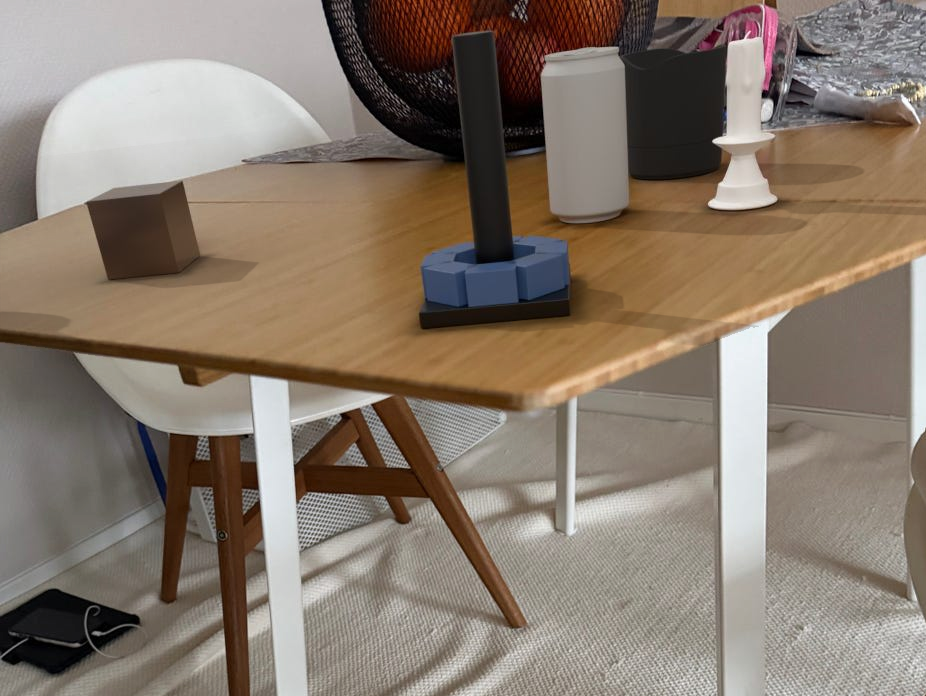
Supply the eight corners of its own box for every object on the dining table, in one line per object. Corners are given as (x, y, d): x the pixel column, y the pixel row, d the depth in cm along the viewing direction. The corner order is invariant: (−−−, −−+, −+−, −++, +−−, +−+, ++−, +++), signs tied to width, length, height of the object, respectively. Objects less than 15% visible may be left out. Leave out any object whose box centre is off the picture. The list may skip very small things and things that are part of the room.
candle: (781, 195, 87) (787, 24, 81) (771, 209, 83) (776, 31, 77) (715, 198, 89) (715, 31, 83) (701, 212, 85) (701, 38, 79)
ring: (418, 312, 65) (414, 278, 64) (435, 275, 73) (431, 244, 72) (569, 298, 64) (566, 263, 63) (569, 262, 72) (567, 230, 71)
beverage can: (539, 226, 88) (526, 58, 81) (567, 208, 92) (557, 48, 86) (614, 224, 85) (607, 51, 79) (640, 206, 90) (635, 41, 83)
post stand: (420, 328, 66) (382, 48, 58) (436, 290, 73) (404, 37, 66) (570, 315, 65) (551, 27, 57) (570, 277, 72) (554, 19, 65)
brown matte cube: (107, 279, 88) (85, 201, 85) (133, 262, 93) (113, 187, 90) (178, 272, 88) (159, 193, 84) (200, 255, 93) (182, 180, 90)
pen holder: (705, 158, 106) (705, 42, 101) (740, 171, 98) (742, 45, 93) (612, 171, 106) (607, 55, 100) (639, 185, 98) (635, 60, 92)
